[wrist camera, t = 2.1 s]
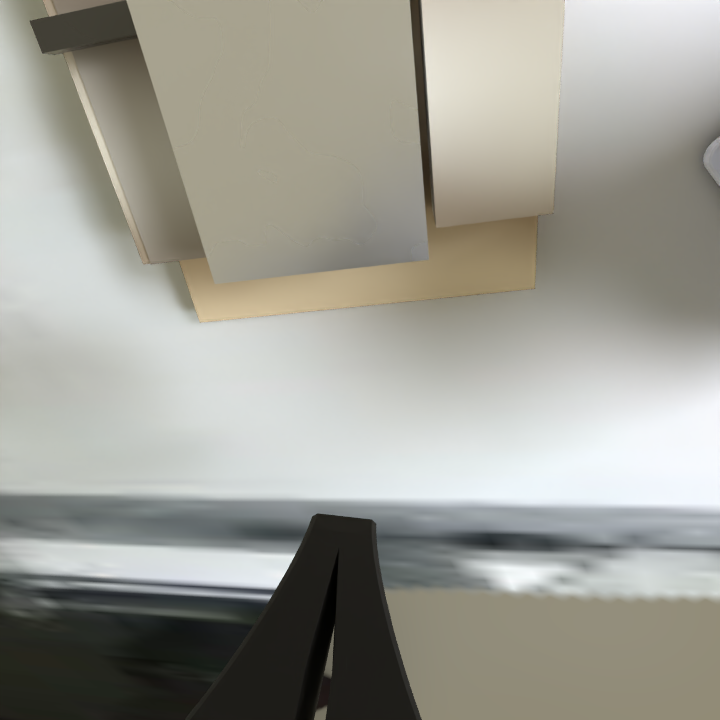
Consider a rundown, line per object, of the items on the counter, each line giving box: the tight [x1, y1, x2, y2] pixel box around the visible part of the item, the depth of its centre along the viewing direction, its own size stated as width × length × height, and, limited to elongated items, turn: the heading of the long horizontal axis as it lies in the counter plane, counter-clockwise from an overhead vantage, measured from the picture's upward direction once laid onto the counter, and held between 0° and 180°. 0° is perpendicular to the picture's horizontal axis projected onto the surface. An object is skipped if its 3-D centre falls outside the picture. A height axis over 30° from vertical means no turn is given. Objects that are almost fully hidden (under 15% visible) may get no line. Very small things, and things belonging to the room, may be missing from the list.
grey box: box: [30, 0, 429, 284], centre depth 11 cm, size 6×8×5 cm
